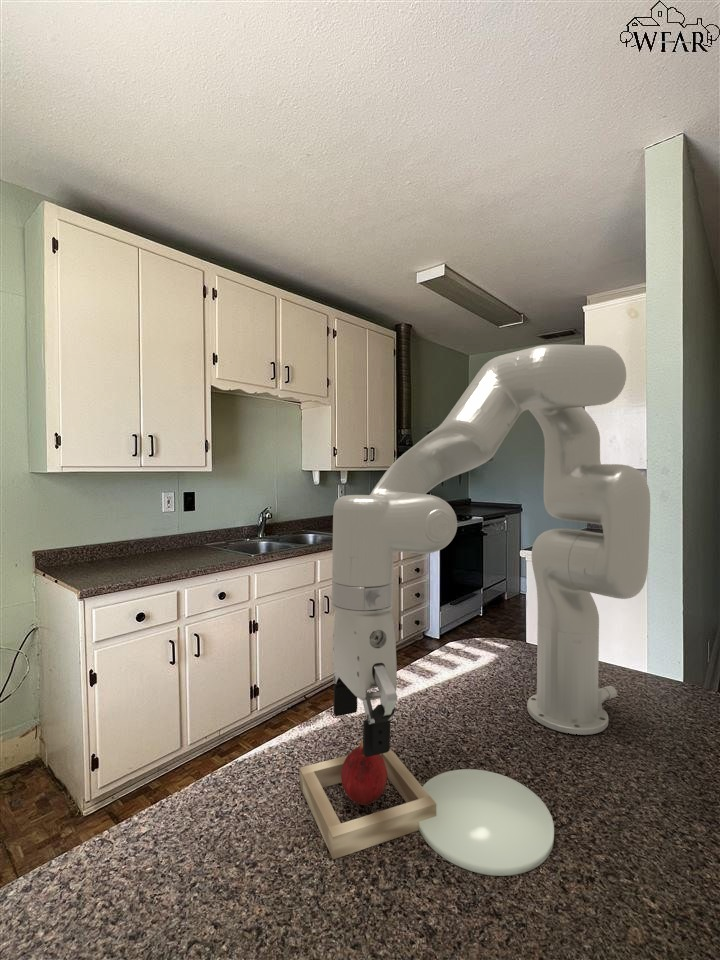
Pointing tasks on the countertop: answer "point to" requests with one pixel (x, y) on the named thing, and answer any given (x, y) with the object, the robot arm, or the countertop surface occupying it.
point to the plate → (487, 823)
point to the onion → (363, 776)
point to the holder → (368, 827)
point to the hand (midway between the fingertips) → (359, 731)
